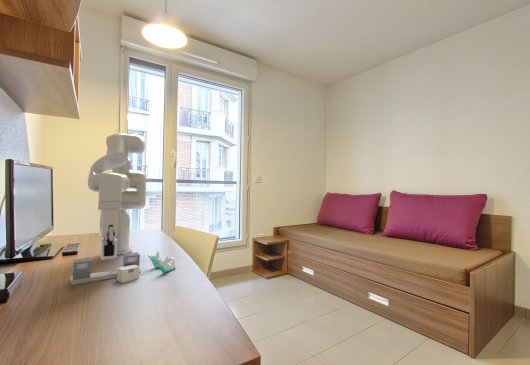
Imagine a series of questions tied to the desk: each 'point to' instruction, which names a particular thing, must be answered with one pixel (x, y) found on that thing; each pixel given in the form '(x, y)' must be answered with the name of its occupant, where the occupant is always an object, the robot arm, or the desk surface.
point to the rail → (84, 268)
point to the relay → (128, 273)
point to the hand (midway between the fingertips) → (108, 253)
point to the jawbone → (162, 263)
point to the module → (103, 250)
